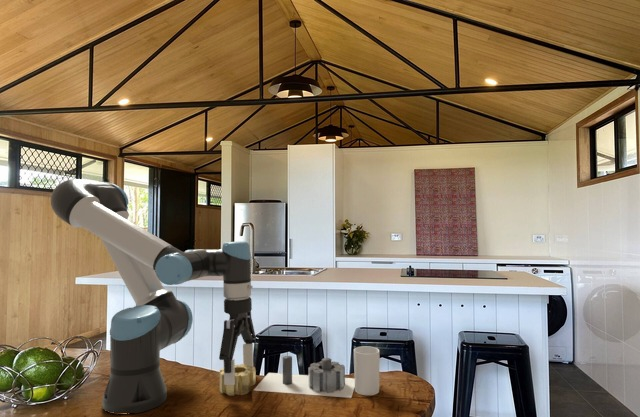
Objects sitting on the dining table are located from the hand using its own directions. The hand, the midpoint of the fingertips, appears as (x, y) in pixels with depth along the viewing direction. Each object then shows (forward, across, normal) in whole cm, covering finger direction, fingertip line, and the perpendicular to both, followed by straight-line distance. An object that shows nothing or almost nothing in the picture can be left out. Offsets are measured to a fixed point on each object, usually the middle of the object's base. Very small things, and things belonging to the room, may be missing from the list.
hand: (239, 375), depth 119 cm
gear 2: (+3, +2, -24) cm, 24 cm away
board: (+4, +2, -18) cm, 19 cm away
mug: (+5, +3, -35) cm, 35 cm away
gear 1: (+4, 0, +1) cm, 4 cm away
